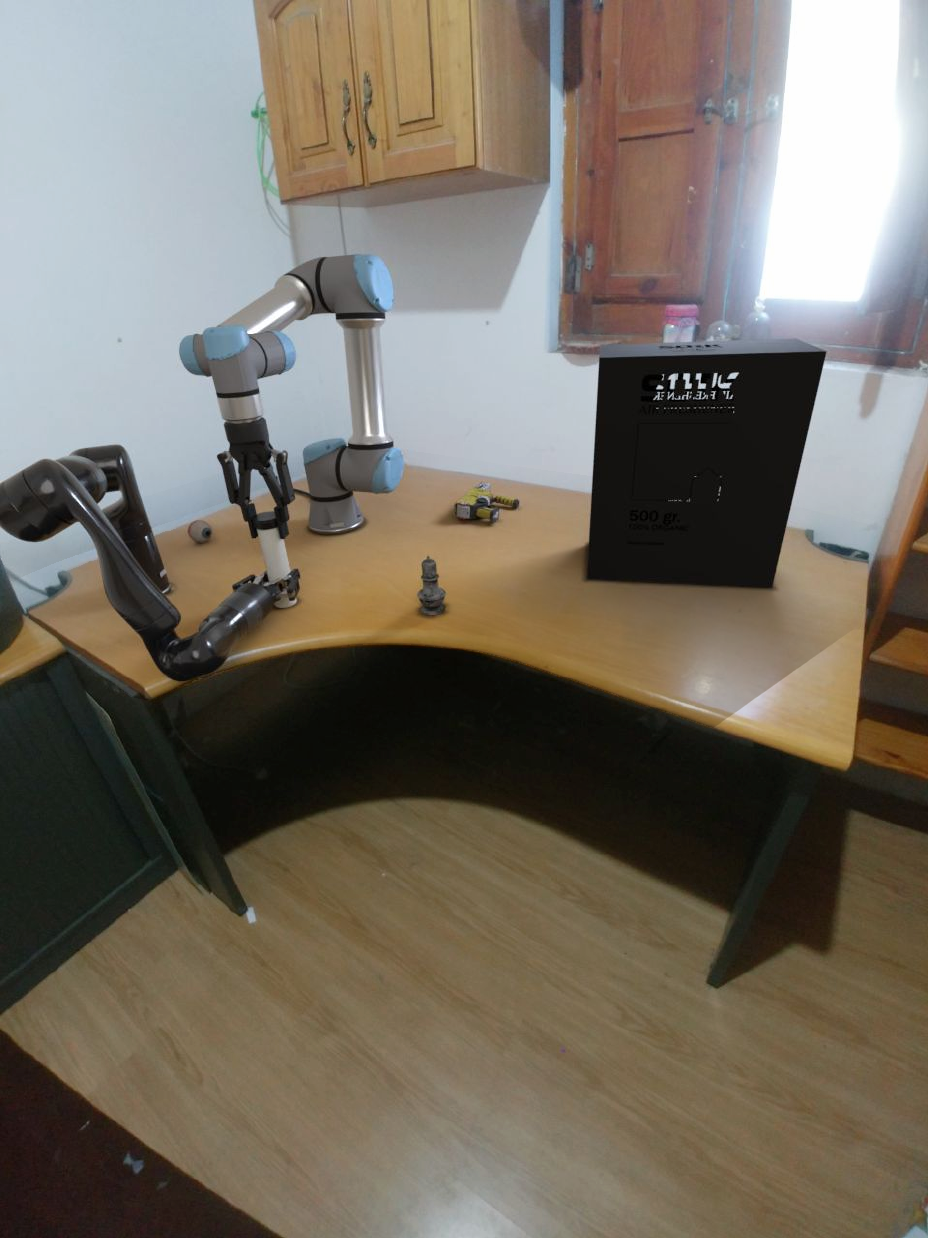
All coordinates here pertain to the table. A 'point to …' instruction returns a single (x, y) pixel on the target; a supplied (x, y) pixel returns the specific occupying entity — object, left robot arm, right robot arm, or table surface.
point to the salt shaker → (431, 589)
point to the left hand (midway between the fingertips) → (285, 571)
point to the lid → (264, 520)
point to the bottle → (275, 559)
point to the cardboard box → (698, 459)
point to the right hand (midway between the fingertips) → (270, 536)
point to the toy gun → (481, 504)
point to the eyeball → (200, 531)
